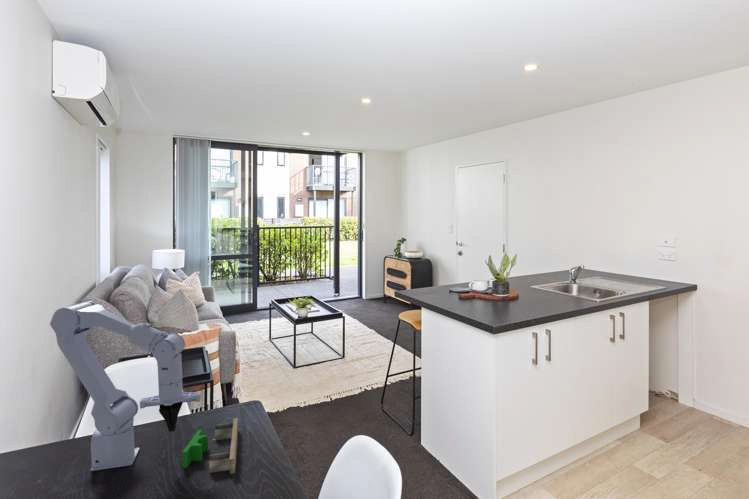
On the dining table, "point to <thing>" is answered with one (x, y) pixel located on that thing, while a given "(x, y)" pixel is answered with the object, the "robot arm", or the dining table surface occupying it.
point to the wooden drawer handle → (228, 458)
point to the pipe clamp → (195, 449)
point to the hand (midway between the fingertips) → (172, 429)
